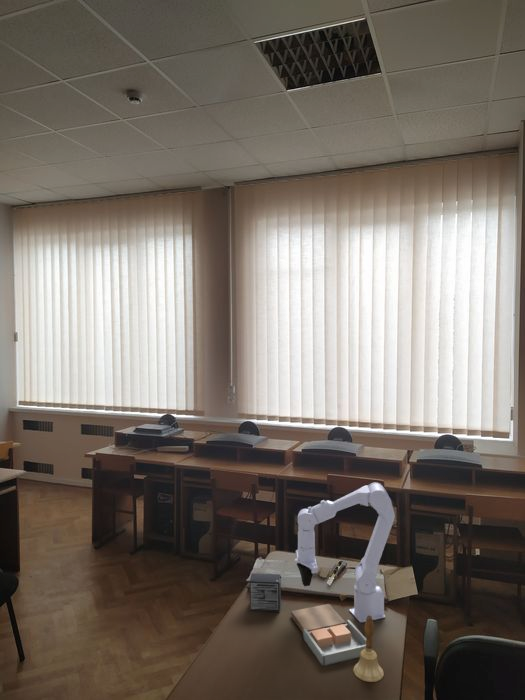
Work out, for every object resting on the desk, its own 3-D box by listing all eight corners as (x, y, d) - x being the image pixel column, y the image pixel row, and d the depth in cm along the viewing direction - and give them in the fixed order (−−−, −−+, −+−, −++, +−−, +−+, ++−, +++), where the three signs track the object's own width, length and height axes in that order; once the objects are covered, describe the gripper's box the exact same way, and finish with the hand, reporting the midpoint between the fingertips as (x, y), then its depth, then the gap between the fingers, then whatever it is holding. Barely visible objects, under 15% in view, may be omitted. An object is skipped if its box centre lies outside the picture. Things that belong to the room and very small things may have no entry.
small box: (281, 602, 180) (281, 573, 179) (280, 612, 173) (280, 582, 173) (251, 601, 181) (251, 572, 180) (249, 611, 174) (249, 581, 174)
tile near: (343, 631, 161) (343, 624, 161) (350, 640, 156) (350, 632, 156) (329, 635, 159) (329, 627, 159) (336, 644, 154) (336, 636, 154)
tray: (349, 628, 163) (349, 619, 163) (372, 654, 150) (371, 644, 150) (303, 638, 158) (303, 629, 158) (322, 666, 145) (322, 655, 145)
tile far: (325, 635, 159) (325, 627, 159) (332, 644, 154) (332, 636, 154) (310, 638, 157) (310, 630, 157) (317, 648, 152) (317, 640, 152)
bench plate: (329, 609, 175) (329, 603, 175) (345, 628, 163) (345, 622, 163) (291, 616, 170) (291, 611, 170) (305, 637, 159) (305, 630, 159)
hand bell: (383, 664, 145) (383, 609, 145) (384, 684, 137) (384, 626, 137) (353, 661, 147) (353, 606, 147) (353, 680, 139) (352, 622, 138)
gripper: (287, 539, 178) (287, 577, 178) (304, 556, 164) (304, 597, 165) (306, 536, 180) (306, 574, 181) (323, 552, 167) (323, 593, 167)
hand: (306, 585), depth 173 cm, fingers closed
